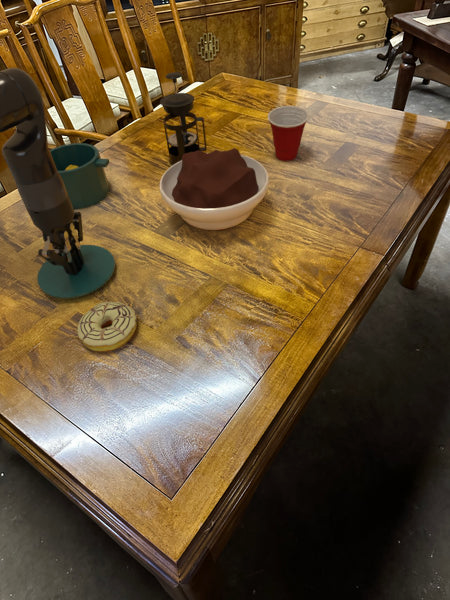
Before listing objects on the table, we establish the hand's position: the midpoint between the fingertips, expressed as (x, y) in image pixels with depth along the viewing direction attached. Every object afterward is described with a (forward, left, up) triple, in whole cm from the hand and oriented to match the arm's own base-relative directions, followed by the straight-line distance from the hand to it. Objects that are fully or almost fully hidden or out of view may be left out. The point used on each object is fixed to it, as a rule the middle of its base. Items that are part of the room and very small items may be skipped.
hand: (76, 268), depth 86 cm
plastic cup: (+38, +55, -3) cm, 67 cm away
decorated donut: (+12, -13, -3) cm, 18 cm away
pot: (-14, +31, -3) cm, 34 cm away
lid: (0, 0, -1) cm, 1 cm away
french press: (+10, +51, -3) cm, 52 cm away
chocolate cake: (+24, +26, -3) cm, 36 cm away
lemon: (-14, +30, -2) cm, 34 cm away
